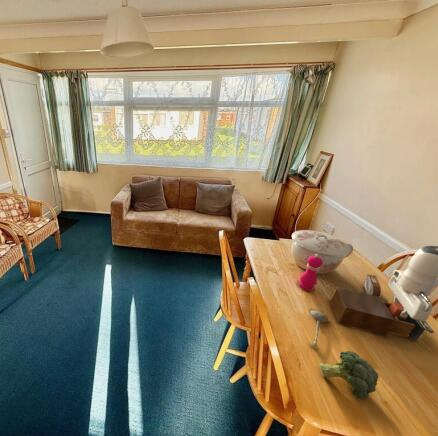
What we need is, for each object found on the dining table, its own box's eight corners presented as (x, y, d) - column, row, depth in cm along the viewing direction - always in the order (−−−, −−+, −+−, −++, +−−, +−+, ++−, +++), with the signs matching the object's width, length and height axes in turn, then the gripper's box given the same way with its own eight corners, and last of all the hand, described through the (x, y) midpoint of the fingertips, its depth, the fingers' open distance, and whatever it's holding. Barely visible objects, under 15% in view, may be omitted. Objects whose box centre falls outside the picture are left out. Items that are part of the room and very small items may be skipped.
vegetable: (315, 346, 86) (367, 349, 78) (325, 387, 81) (382, 394, 73) (314, 352, 77) (373, 356, 69) (326, 398, 72) (391, 408, 64)
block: (400, 311, 94) (405, 304, 93) (405, 319, 91) (410, 311, 89) (388, 308, 96) (392, 301, 94) (392, 315, 93) (397, 308, 91)
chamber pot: (277, 264, 136) (286, 234, 127) (293, 247, 152) (302, 219, 144) (334, 289, 117) (349, 255, 108) (345, 266, 134) (359, 236, 125)
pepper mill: (313, 284, 120) (325, 253, 111) (314, 293, 114) (327, 260, 106) (297, 280, 123) (308, 249, 115) (297, 288, 118) (309, 256, 109)
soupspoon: (327, 317, 102) (310, 310, 106) (329, 311, 100) (312, 305, 104) (323, 352, 86) (303, 343, 90) (326, 346, 85) (305, 337, 89)
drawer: (414, 321, 98) (422, 309, 94) (432, 346, 87) (442, 333, 84) (358, 307, 105) (364, 295, 102) (369, 328, 94) (376, 316, 91)
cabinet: (371, 311, 104) (380, 296, 100) (385, 336, 92) (395, 320, 89) (330, 301, 109) (337, 286, 106) (338, 323, 98) (346, 307, 94)
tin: (376, 304, 108) (384, 290, 104) (367, 301, 109) (375, 288, 105) (369, 285, 119) (376, 272, 116) (361, 283, 121) (367, 270, 117)
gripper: (445, 306, 77) (424, 334, 83) (412, 271, 94) (396, 296, 100) (420, 300, 80) (401, 328, 85) (392, 267, 96) (378, 292, 102)
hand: (398, 310), depth 93 cm, fingers closed on block, 4 cm apart
